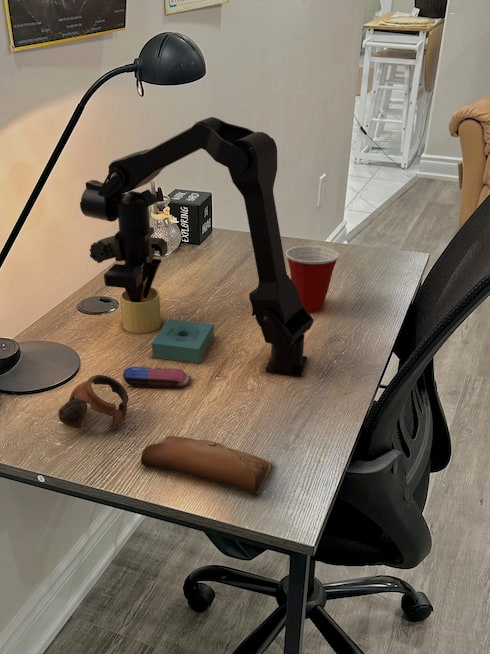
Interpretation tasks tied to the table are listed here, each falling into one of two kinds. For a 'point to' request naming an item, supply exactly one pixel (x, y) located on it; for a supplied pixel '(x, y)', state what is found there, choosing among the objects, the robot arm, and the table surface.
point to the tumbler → (141, 312)
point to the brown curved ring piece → (93, 402)
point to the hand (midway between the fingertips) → (140, 302)
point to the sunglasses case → (208, 462)
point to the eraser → (155, 377)
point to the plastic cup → (312, 273)
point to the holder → (183, 341)
